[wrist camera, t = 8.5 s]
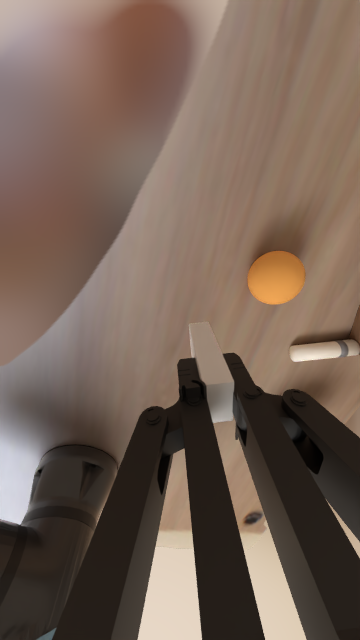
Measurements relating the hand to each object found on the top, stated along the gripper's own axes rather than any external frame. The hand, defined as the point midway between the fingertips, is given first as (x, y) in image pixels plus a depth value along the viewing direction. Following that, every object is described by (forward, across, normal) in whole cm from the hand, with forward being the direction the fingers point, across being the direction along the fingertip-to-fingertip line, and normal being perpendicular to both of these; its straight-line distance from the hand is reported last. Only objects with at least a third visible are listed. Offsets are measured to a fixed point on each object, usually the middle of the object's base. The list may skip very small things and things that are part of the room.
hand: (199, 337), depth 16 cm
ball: (+9, -10, -1) cm, 14 cm away
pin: (+11, -15, +11) cm, 22 cm away
